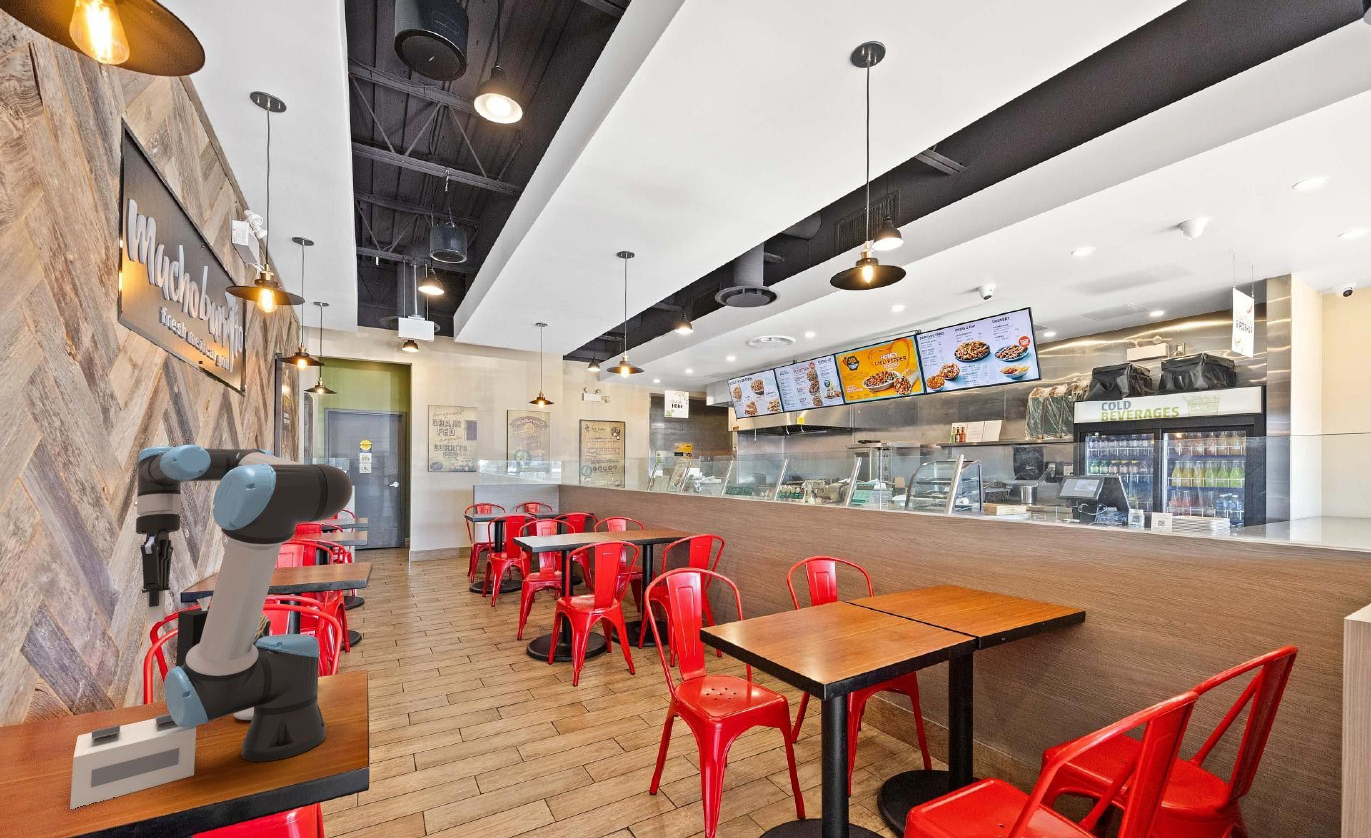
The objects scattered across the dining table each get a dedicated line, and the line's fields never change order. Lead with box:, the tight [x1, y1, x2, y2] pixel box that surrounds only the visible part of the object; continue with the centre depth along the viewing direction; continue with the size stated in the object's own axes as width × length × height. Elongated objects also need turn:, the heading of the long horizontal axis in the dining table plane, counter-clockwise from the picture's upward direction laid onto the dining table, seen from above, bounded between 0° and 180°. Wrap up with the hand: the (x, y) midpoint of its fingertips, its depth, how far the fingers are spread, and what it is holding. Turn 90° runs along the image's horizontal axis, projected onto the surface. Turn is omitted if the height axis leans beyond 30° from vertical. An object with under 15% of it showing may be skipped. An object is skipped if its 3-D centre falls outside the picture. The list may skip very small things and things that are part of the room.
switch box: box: [69, 717, 197, 811], centre depth 116 cm, size 12×17×9 cm
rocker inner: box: [154, 712, 173, 724], centre depth 119 cm, size 6×4×1 cm
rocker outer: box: [91, 724, 121, 738], centre depth 113 cm, size 6×4×1 cm
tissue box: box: [175, 595, 213, 667], centre depth 149 cm, size 8×8×28 cm
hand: (155, 622), depth 131 cm, fingers closed
